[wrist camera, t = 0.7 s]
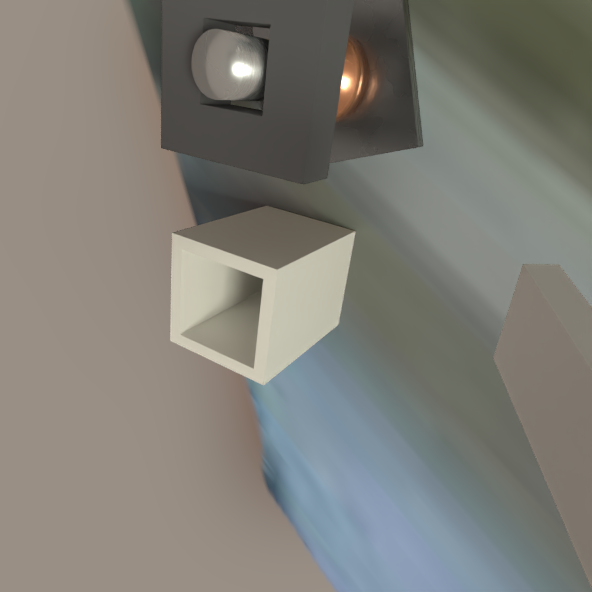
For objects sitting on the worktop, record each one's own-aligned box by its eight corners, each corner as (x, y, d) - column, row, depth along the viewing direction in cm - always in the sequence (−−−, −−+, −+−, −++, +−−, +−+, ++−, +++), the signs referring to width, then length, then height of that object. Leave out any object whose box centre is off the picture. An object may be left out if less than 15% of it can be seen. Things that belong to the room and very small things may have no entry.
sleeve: (266, 205, 36) (172, 232, 28) (355, 231, 33) (277, 269, 25) (257, 293, 40) (170, 340, 32) (338, 324, 37) (263, 385, 29)
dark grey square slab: (197, -38, 24) (162, -51, 22) (358, -32, 20) (333, -47, 18) (191, 145, 28) (161, 147, 26) (327, 178, 24) (303, 184, 22)
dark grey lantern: (258, 17, 32) (111, -22, 23) (403, -41, 27) (291, -125, 17) (285, 170, 35) (164, 194, 25) (423, 146, 29) (335, 164, 20)
